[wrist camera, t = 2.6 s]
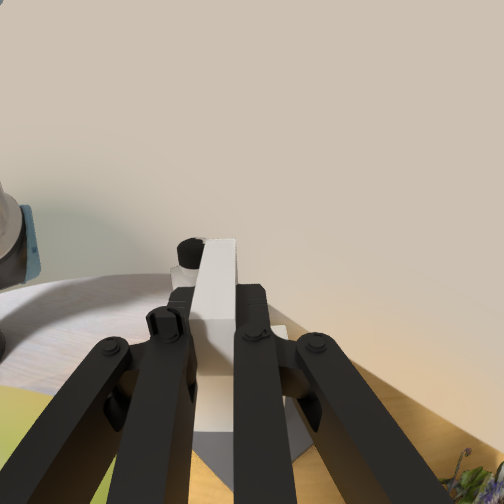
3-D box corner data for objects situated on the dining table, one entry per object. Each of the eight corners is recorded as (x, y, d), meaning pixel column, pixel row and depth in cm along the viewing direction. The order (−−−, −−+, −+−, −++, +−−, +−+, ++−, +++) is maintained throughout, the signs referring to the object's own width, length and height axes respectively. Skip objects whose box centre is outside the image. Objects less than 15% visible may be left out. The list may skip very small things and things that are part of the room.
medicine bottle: (195, 322, 50) (186, 256, 44) (174, 303, 55) (165, 241, 49) (230, 306, 54) (227, 242, 49) (207, 289, 59) (202, 230, 54)
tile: (281, 429, 30) (289, 347, 25) (191, 431, 30) (168, 350, 25) (278, 407, 33) (285, 323, 28) (193, 409, 33) (174, 326, 27)
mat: (125, 361, 41) (124, 357, 40) (233, 310, 53) (233, 307, 52) (241, 500, 23) (241, 498, 23) (363, 395, 35) (364, 392, 35)
